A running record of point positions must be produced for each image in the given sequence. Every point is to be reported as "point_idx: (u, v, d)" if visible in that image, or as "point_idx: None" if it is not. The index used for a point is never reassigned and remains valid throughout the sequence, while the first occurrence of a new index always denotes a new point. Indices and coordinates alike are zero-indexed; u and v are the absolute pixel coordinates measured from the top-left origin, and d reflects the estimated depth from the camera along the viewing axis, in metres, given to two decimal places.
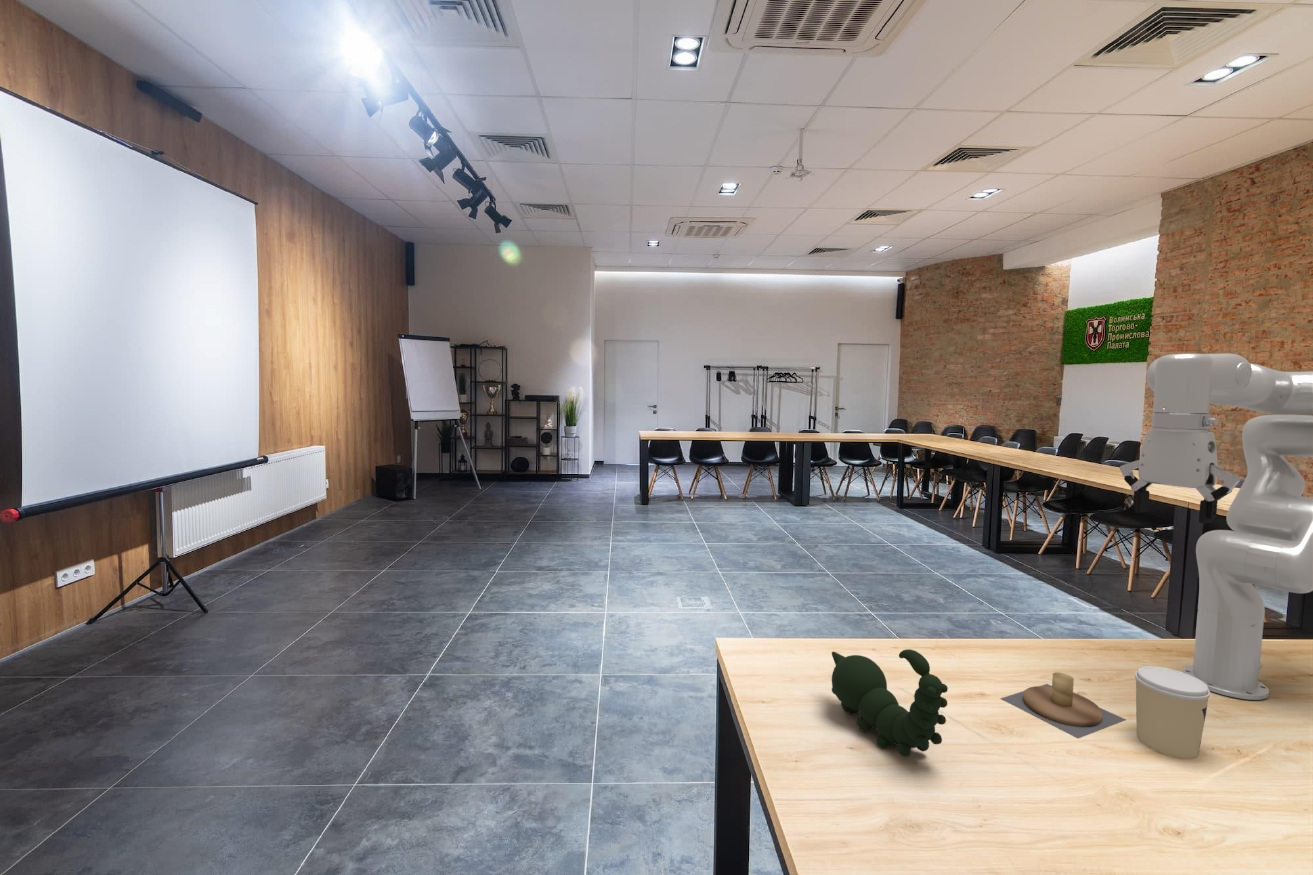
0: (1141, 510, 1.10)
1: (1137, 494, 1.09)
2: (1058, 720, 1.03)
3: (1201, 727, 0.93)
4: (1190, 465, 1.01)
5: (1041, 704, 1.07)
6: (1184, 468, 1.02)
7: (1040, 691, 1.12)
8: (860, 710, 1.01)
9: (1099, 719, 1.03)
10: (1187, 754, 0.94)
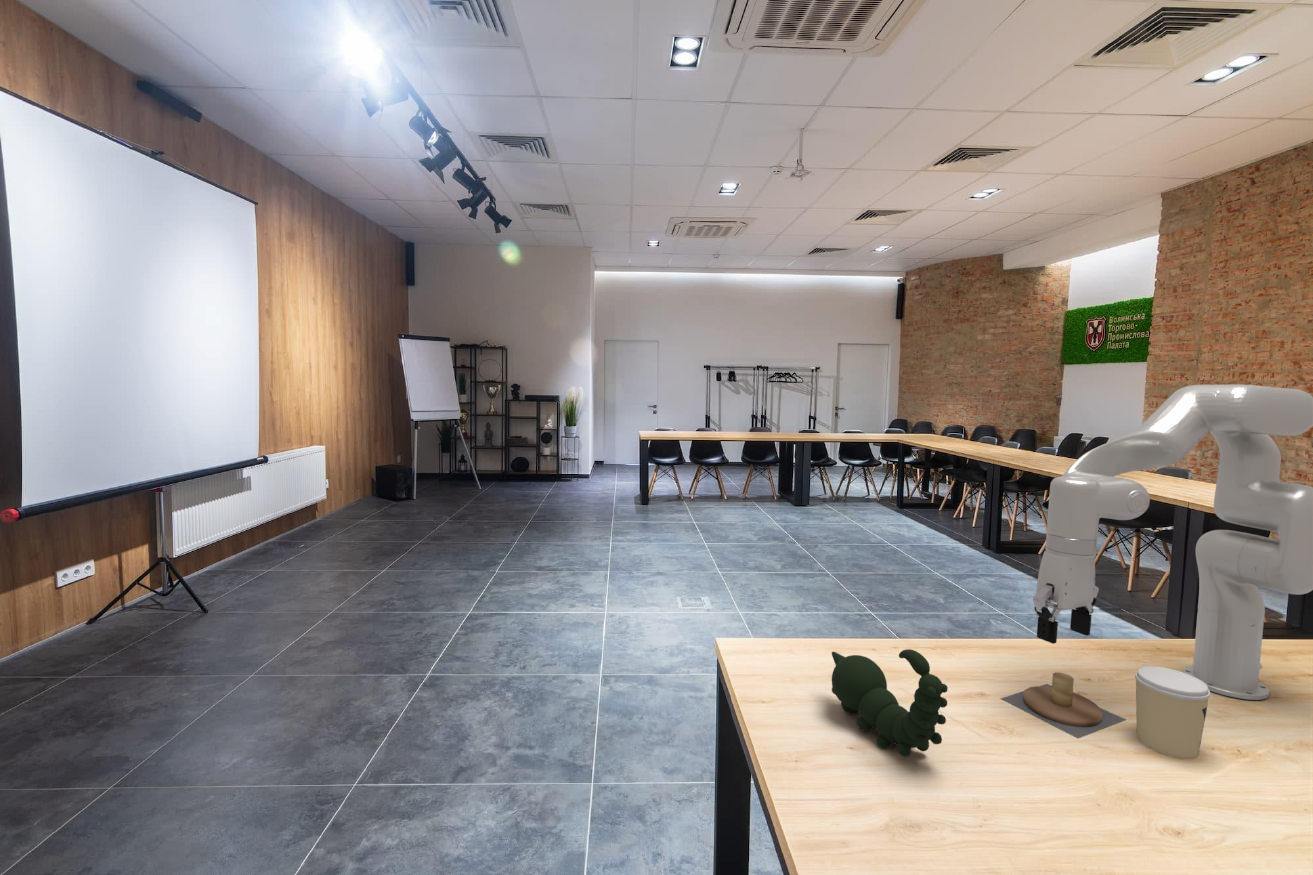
0: None
1: (1057, 625, 1.03)
2: (1058, 720, 1.03)
3: (1201, 727, 0.93)
4: (1091, 585, 1.05)
5: (1041, 704, 1.07)
6: (1088, 589, 1.05)
7: (1040, 690, 1.12)
8: (860, 710, 1.01)
9: (1099, 719, 1.03)
10: (1187, 754, 0.94)
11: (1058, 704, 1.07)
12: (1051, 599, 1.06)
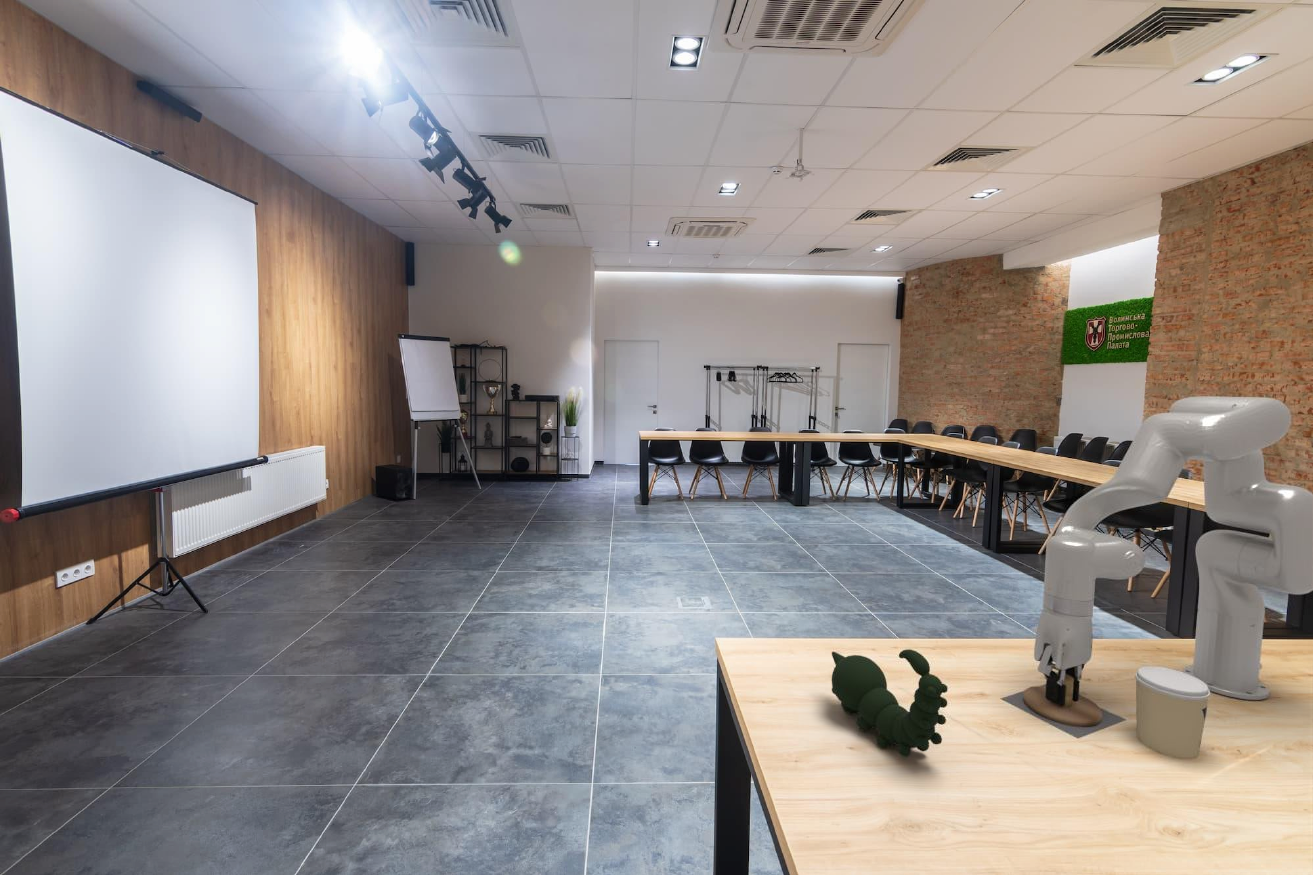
0: None
1: (1065, 688, 1.06)
2: (1058, 720, 1.03)
3: (1201, 727, 0.93)
4: (1088, 643, 1.06)
5: (1041, 704, 1.07)
6: (1086, 648, 1.06)
7: (1040, 690, 1.12)
8: (860, 710, 1.01)
9: (1099, 719, 1.03)
10: (1187, 754, 0.94)
11: None
12: None
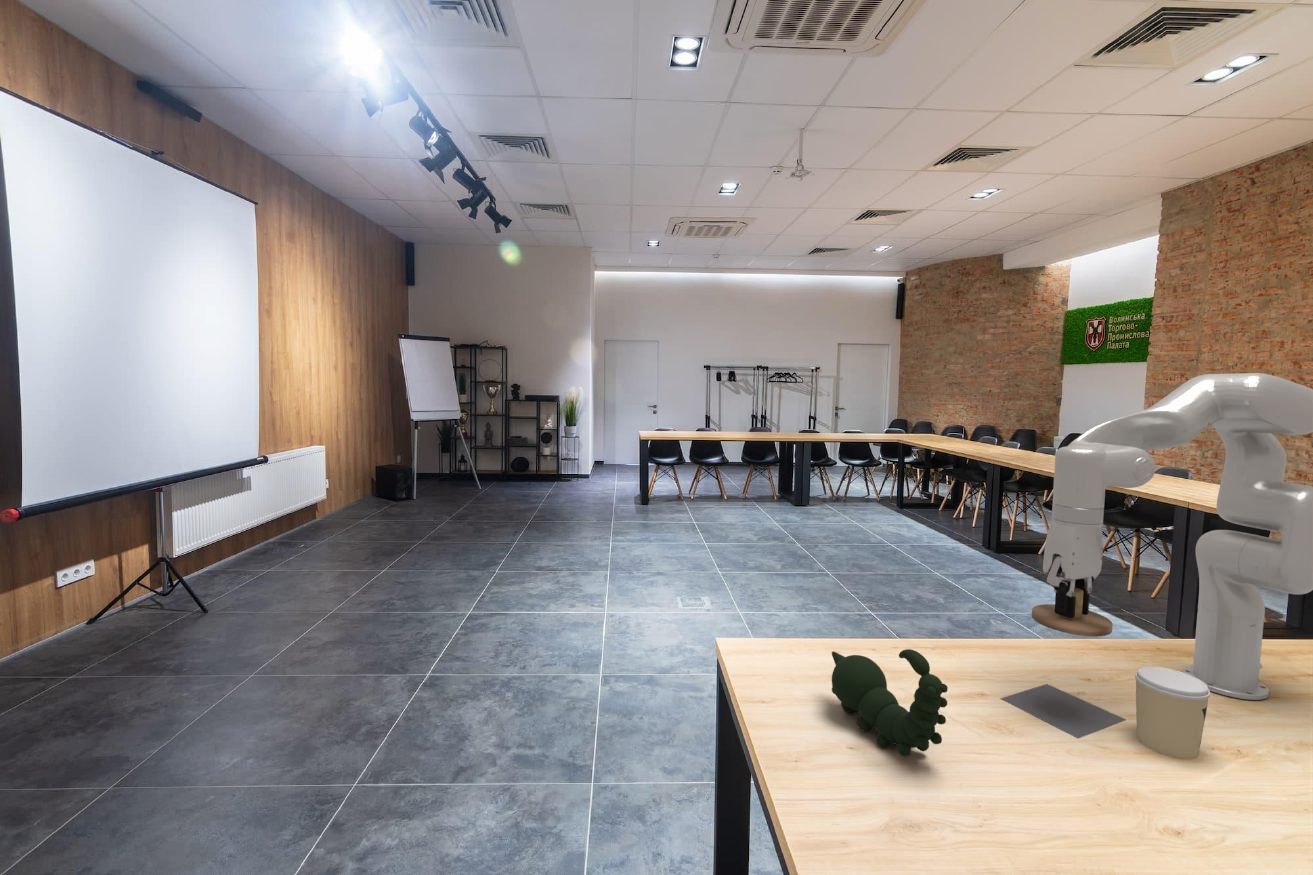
0: None
1: (1074, 600, 1.04)
2: (1068, 630, 1.02)
3: (1201, 727, 0.93)
4: (1098, 555, 1.05)
5: (1050, 617, 1.06)
6: (1096, 559, 1.04)
7: (1048, 607, 1.11)
8: (860, 710, 1.01)
9: (1109, 629, 1.01)
10: (1187, 754, 0.94)
11: (1067, 617, 1.05)
12: None
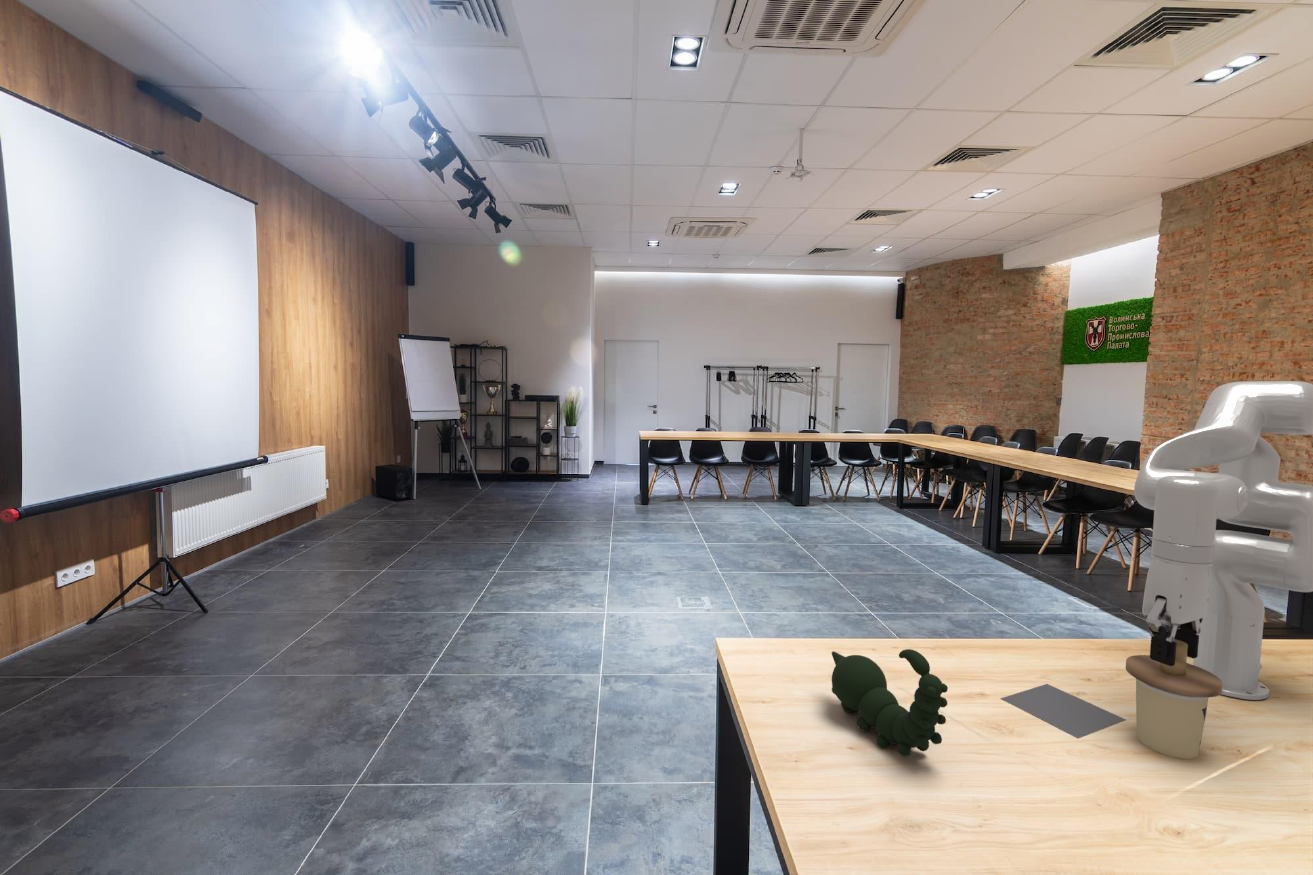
0: None
1: (1175, 645, 0.93)
2: (1174, 690, 0.92)
3: (1201, 727, 0.93)
4: (1205, 596, 0.95)
5: (1150, 673, 0.96)
6: (1203, 601, 0.94)
7: (1144, 659, 1.01)
8: (860, 710, 1.01)
9: (1221, 688, 0.92)
10: (1187, 754, 0.94)
11: (1170, 673, 0.95)
12: None
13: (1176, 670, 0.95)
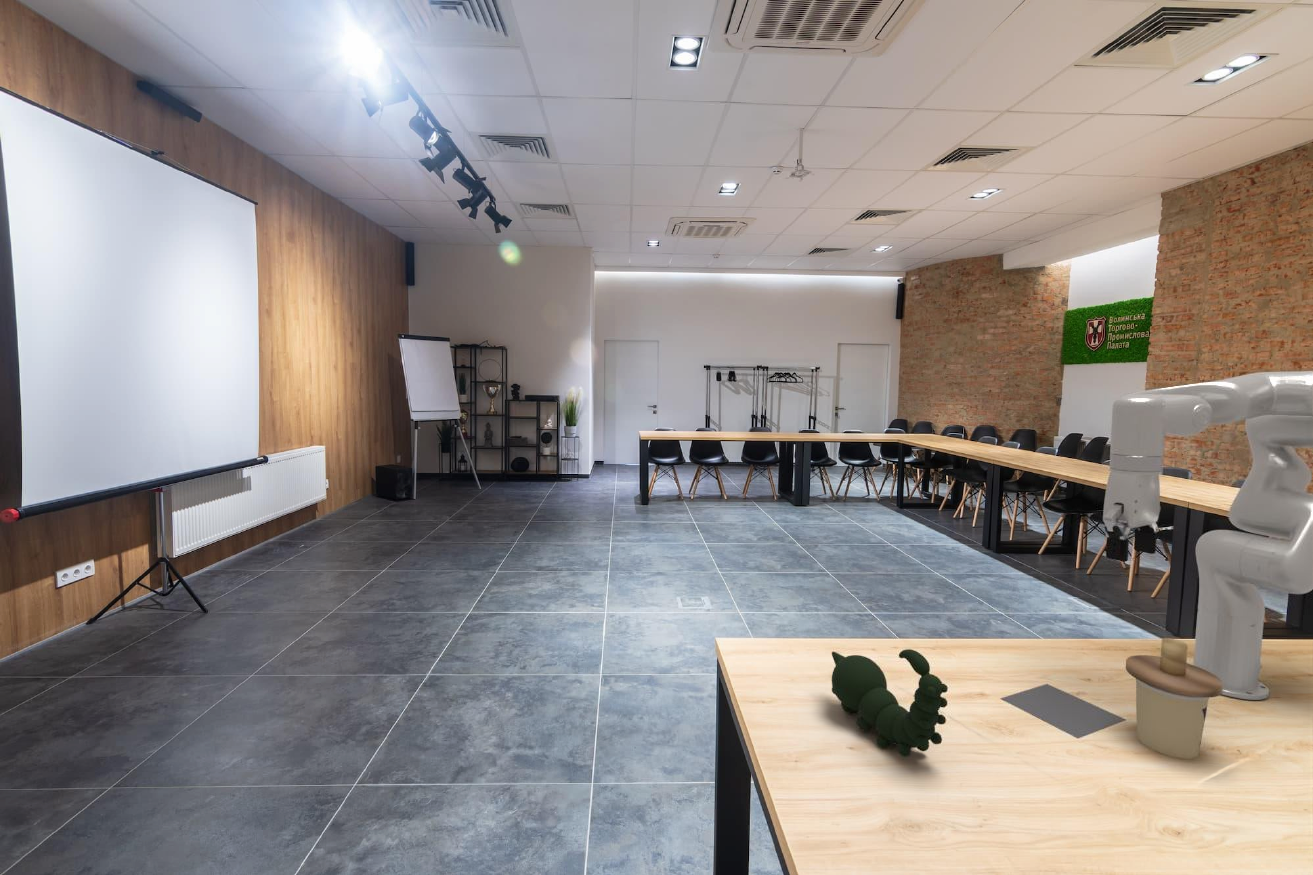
0: None
1: (1127, 543, 1.04)
2: (1174, 690, 0.92)
3: (1201, 727, 0.93)
4: (1157, 503, 1.06)
5: (1150, 673, 0.96)
6: (1155, 507, 1.06)
7: (1144, 659, 1.01)
8: (860, 710, 1.01)
9: (1221, 689, 0.91)
10: (1187, 754, 0.94)
11: (1170, 673, 0.95)
12: (1119, 519, 1.06)
13: (1176, 670, 0.95)
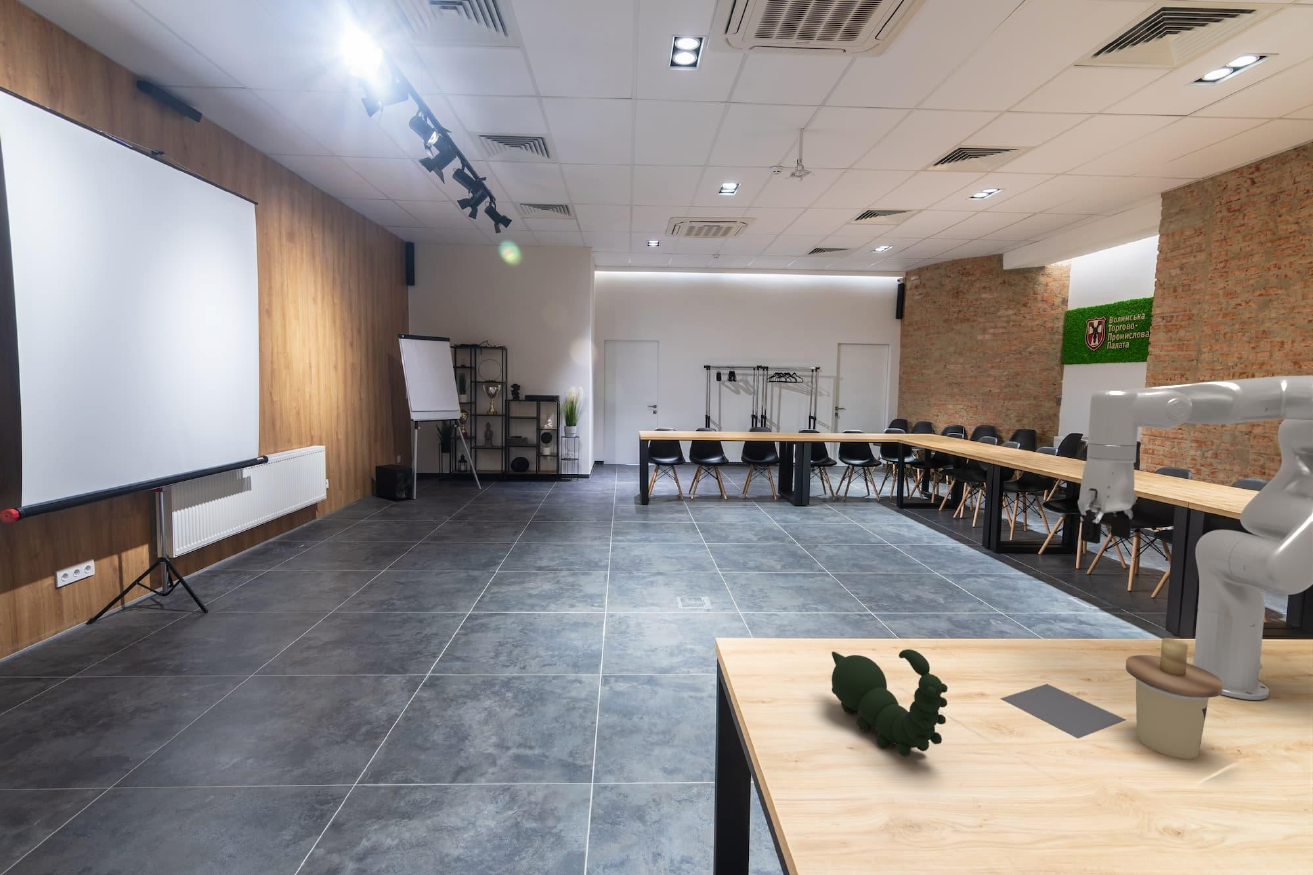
0: None
1: (1100, 526, 1.11)
2: (1174, 690, 0.92)
3: (1201, 727, 0.93)
4: (1131, 490, 1.13)
5: (1150, 673, 0.96)
6: (1128, 494, 1.13)
7: (1144, 659, 1.01)
8: (860, 710, 1.01)
9: (1221, 689, 0.91)
10: (1187, 754, 0.94)
11: (1170, 673, 0.95)
12: (1094, 504, 1.14)
13: (1176, 670, 0.95)
